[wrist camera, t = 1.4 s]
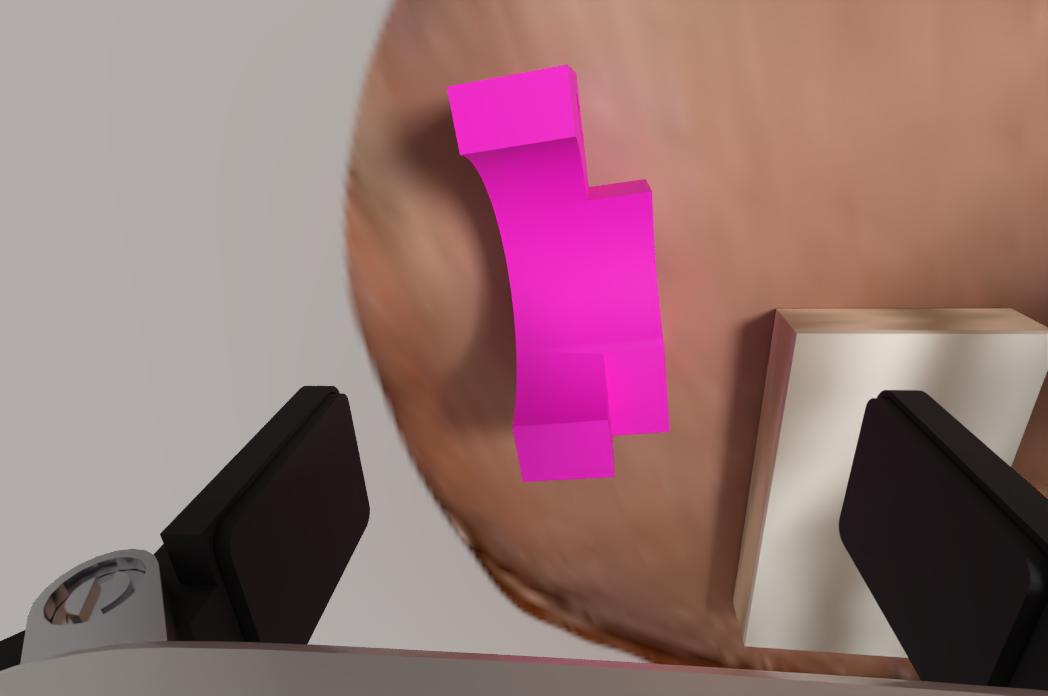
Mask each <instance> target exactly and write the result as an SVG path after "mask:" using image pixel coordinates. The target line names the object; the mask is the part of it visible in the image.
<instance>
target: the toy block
mask: <svg viewBox="0 0 1048 696" xmlns="http://www.w3.org/2000/svg"><path fill="white" fill-rule="evenodd" d="M447 91H448V96H449V101H450V106H451V111H452V116H453V122H454V127H455V132H456V137H457V142H458V148H459V153H460V155H461V156H465V157H466V158H467V159H469V160H470V161H471V163H472V164H473V165H474V166H475V168H476V169H477V171H478V173H479V174H480V176H481V178H482V180H483V183H484V185H485V187H486V189H487V192H488V194H489V197H490V200H491V203H492V206H493V209H494V212H495V216H496V219H497V223H498V226H499V230H500V234H501V239H502V243H503V248H504V252H505V257H506V263H507V268H508V274H509V281H510V287H511V295H512V303H513V312H514V322H515V335H516V357H517V384H516V402H515V412H514V420H513V426H512V427H513V433H514V438H515V443H516V448H517V453H518V458H519V464H520V469H521V474H522V479H523V482H529V481H548V480H566V479H585V478H603V477H614V456H613V436H615V435H630V434H645V433H660V432H669V416H668V400H667V385H666V369H665V354H664V343H663V335H662V326H661V317H660V307H659V297H658V286H657V274H656V261H655V246H654V229H653V206H652V190H651V188H650V187H649V185H648V183H647V181H646V179H644V180H637V181H630V182H623V183H616V184H609V185H602V186H595V187H588V177H587V168H586V159H585V150H584V141H583V131H582V122H581V113H580V104H579V95H578V86H577V76H576V72H575V71H574V70H573V69H572V68H570V67H569V66H568V65H564V66H558V67H553V68H547V69H542V70H536V71H531V72H525V73H520V74H514V75H509V76H503V77H498V78H492V79H487V80H481V81H476V82H471V83H465V84H460V85H454V86H449V87H447Z"/></svg>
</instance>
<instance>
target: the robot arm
mask: <svg viewBox="0 0 1048 696" xmlns="http://www.w3.org/2000/svg"><path fill="white" fill-rule="evenodd" d="M369 514H370V507H369V501H368V496H367V491H366V486H365V481H364V476H363V471H362V466H361V461H360V456H359V451H358V446H357V441H356V436H355V431H354V426H353V421H352V416H351V411H350V406H349V401H348V398H347V396H346V395H345V394H340V393H339V391H338V389H337V388H336V387H334V386H303V387H302V388H301V389H300V390H299V391H298V392H297V393H296V394H295V395H294V396H293V397H292V398H291V399H290V400H289V401H288V402H287V403H286V404H285V405H284V406H283V407H282V408H281V409H280V410H279V411H278V412H277V413H276V415H274V416H273V418H272V419H271V420H270V421H269V422H268V423H267V424H266V425H265V426H264V427H263V428H262V429H261V430H260V431H259V432H258V433H257V434H256V435H255V436H254V437H253V438H252V439H251V440H250V441H249V443H247V444H246V446H245V447H244V448H243V449H242V450H241V451H240V452H239V453H238V454H237V455H236V456H235V457H234V458H233V459H232V460H231V461H230V462H229V463H228V464H227V465H226V466H225V467H224V468H223V469H222V470H221V471H220V473H219V474H218V475H217V476H216V477H215V478H214V479H213V480H212V481H211V482H210V483H209V484H208V485H207V486H206V487H205V488H204V489H203V490H202V491H201V492H200V493H199V494H198V495H197V496H196V497H195V498H194V499H193V500H192V501H191V503H190V504H189V505H188V506H187V507H186V508H185V509H184V510H183V511H182V512H181V513H180V514H179V515H178V516H177V517H176V518H175V519H174V520H173V521H172V522H171V523H170V525H168V526H167V527H166V528H165V530H164V531H163V532H162V533H161V534H160V535H161V538H162V540H163V543H164V544H163V545H162V546H161V547H160V548H159V550H157V552H156V553H155V554H154V555H153V554H151V553H149V552H147V551H145V550H136V549H128V550H120V551H115V552H111V553H108V554H104V555H101V556H98V557H95V558H93V559H91V560H89V561H86V562H84V563H82V564H80V565H78V566H76V567H74V568H73V569H71V570H70V571H68V572H67V573H65V574H63V575H62V576H60V577H59V578H58V579H56V580H55V581H54V582H53V583H52V584H51V585H49V586H48V587H47V588H46V589H45V590H44V591H43V592H42V593H41V594H40V596H39V597H38V598H37V599H36V600H35V602H34V603H33V605H32V607H31V610H30V612H29V615H28V619H27V625H26V630H24V631H22V632H20V633H18V634H15V635H13V636H11V637H9V638H7V639H4V640H2V641H0V696H1048V499H1047V498H1046V497H1044V496H1043V495H1042V494H1041V493H1040V492H1039V491H1038V490H1036V489H1035V488H1034V487H1033V486H1032V485H1031V484H1030V483H1028V482H1027V481H1026V480H1025V479H1024V478H1023V477H1022V476H1020V475H1019V474H1018V473H1017V472H1016V471H1015V470H1014V469H1012V468H1011V467H1010V466H1009V465H1008V464H1007V463H1006V462H1005V461H1003V460H1002V459H1001V458H1000V457H999V456H998V455H997V454H995V453H994V452H993V451H992V450H991V449H990V448H989V447H987V446H986V445H985V444H984V443H983V442H982V441H981V440H979V439H978V438H977V437H976V436H975V435H974V434H973V433H971V432H970V431H969V430H968V429H967V428H966V427H965V426H963V425H962V424H961V423H960V422H959V421H958V420H957V419H955V418H954V417H953V416H952V415H951V414H950V413H949V412H948V411H946V410H945V409H944V408H943V407H942V406H941V405H940V404H938V403H937V402H936V401H935V400H934V399H933V398H932V397H930V396H929V395H928V394H927V393H925V392H924V391H921V390H884V391H882V392H880V394H879V395H878V396H877V398H872V399H870V400H869V401H868V403H867V405H866V408H865V412H864V417H863V421H862V425H861V429H860V434H859V438H858V442H857V446H856V450H855V455H854V459H853V463H852V467H851V472H850V476H849V480H848V484H847V489H846V493H845V497H844V501H843V506H842V510H841V514H840V518H839V534H840V538H841V540H842V543H843V545H844V546H845V548H846V550H847V552H848V553H849V555H850V557H851V559H852V560H853V562H854V564H855V566H856V567H857V569H858V571H859V573H860V574H861V576H862V578H863V580H864V581H865V583H866V585H867V587H868V588H869V590H870V592H871V593H872V595H873V597H874V599H875V600H876V602H877V604H878V606H879V607H880V609H881V611H882V613H883V614H884V616H885V618H886V620H887V621H888V623H889V625H890V627H891V628H892V630H893V632H894V634H895V635H896V637H897V639H898V641H899V642H900V644H901V646H902V648H903V649H904V651H905V653H906V655H907V656H908V658H909V660H910V662H911V663H912V665H913V667H914V669H915V670H916V672H917V674H918V676H919V677H920V679H921V681H915V680H900V679H884V678H869V677H854V676H838V675H823V674H808V673H792V672H777V671H762V670H746V669H731V668H715V667H699V666H682V665H666V664H649V663H633V662H616V661H598V660H582V659H564V658H547V657H530V656H514V655H513V656H512V655H497V654H478V653H459V652H441V651H440V652H439V651H422V650H403V649H384V648H366V647H347V646H328V645H307V644H308V642H309V640H310V638H311V636H312V634H313V632H314V630H315V627H316V626H317V624H318V622H319V620H320V618H321V616H322V614H323V612H324V610H325V608H326V606H327V604H328V602H329V600H330V598H331V596H332V594H333V592H334V590H335V588H336V586H337V584H338V582H339V580H340V578H341V576H342V574H343V572H344V570H345V568H346V566H347V564H348V562H349V560H350V558H351V556H352V554H353V552H354V550H355V548H356V546H357V544H358V542H359V540H360V538H361V536H362V535H363V533H364V531H365V529H366V526H367V524H368V520H369Z"/></svg>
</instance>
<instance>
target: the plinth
mask: <svg viewBox="0 0 1048 696" xmlns="http://www.w3.org/2000/svg"><path fill="white" fill-rule="evenodd" d="M1047 371H1048V327H1046V326H1044V325H1042V324H1040V323H1038V322H1036V321H1034V320H1032V319H1031V318H1029V317H1027V316H1025V315H1023V314H1021V313H1019V312H1017V311H1015V310H1013V309H1011V308H868V309H776V314H775V321H774V327H773V334H772V341H771V348H770V354H769V361H768V368H767V375H766V381H765V388H764V395H763V402H762V408H761V415H760V422H759V429H758V435H757V442H756V449H755V456H754V462H753V469H752V476H751V483H750V489H749V496H748V503H747V510H746V516H745V523H744V530H743V537H742V543H741V550H740V557H739V564H738V570H737V577H736V584H735V591H734V597H733V605H734V609H735V612H736V616H737V620H738V624H739V627H740V631H741V635H742V639H743V642H744V646H748V647H762V648H776V649H790V650H804V651H818V652H832V653H847V654H861V655H875V656H889V657H903V658H908V656H907V655H906V653H905V651H904V649H903V648H902V646H901V644H900V642H899V641H898V639H897V637H896V635H895V634H894V632H893V630H892V628H891V627H890V625H889V623H888V621H887V620H886V618H885V616H884V614H883V613H882V611H881V609H880V607H879V606H878V604H877V602H876V600H875V599H874V597H873V595H872V593H871V592H870V590H869V588H868V587H867V585H866V583H865V581H864V580H863V578H862V576H861V574H860V573H859V571H858V569H857V567H856V566H855V564H854V562H853V560H852V559H851V557H850V555H849V553H848V552H847V550H846V548H845V546H844V545H843V543H842V540H841V538H840V534H839V518H840V514H841V510H842V506H843V501H844V497H845V493H846V489H847V484H848V480H849V476H850V472H851V467H852V463H853V459H854V455H855V450H856V446H857V442H858V438H859V434H860V429H861V425H862V421H863V417H864V412H865V408H866V405H867V403H868V401H869V400H870V399H872V398H877V396H878V395H879V394H880V392H882V391H884V390H921V391H924V392H925V393H927V394H928V395H929V396H930V397H932V398H933V399H934V400H935V401H936V402H937V403H938V404H940V405H941V406H942V407H943V408H944V409H945V410H946V411H948V412H949V413H950V414H951V415H952V416H953V417H954V418H955V419H957V420H958V421H959V422H960V423H961V424H962V425H963V426H965V427H966V428H967V429H968V430H969V431H970V432H971V433H973V434H974V435H975V436H976V437H977V438H978V439H979V440H981V441H982V442H983V443H984V444H985V445H986V446H987V447H989V448H990V449H991V450H992V451H993V452H994V453H995V454H997V455H998V456H999V457H1000V458H1001V459H1002V460H1003V461H1005V462H1006V463H1007V464H1008V465H1009V466H1010V467H1011V466H1012V463H1013V461H1014V458H1015V455H1016V453H1017V450H1018V447H1019V445H1020V442H1021V440H1022V437H1023V434H1024V432H1025V429H1026V426H1027V424H1028V421H1029V418H1030V416H1031V413H1032V410H1033V408H1034V405H1035V402H1036V400H1037V397H1038V394H1039V392H1040V389H1041V387H1042V384H1043V381H1044V379H1045V376H1046V373H1047Z"/></svg>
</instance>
